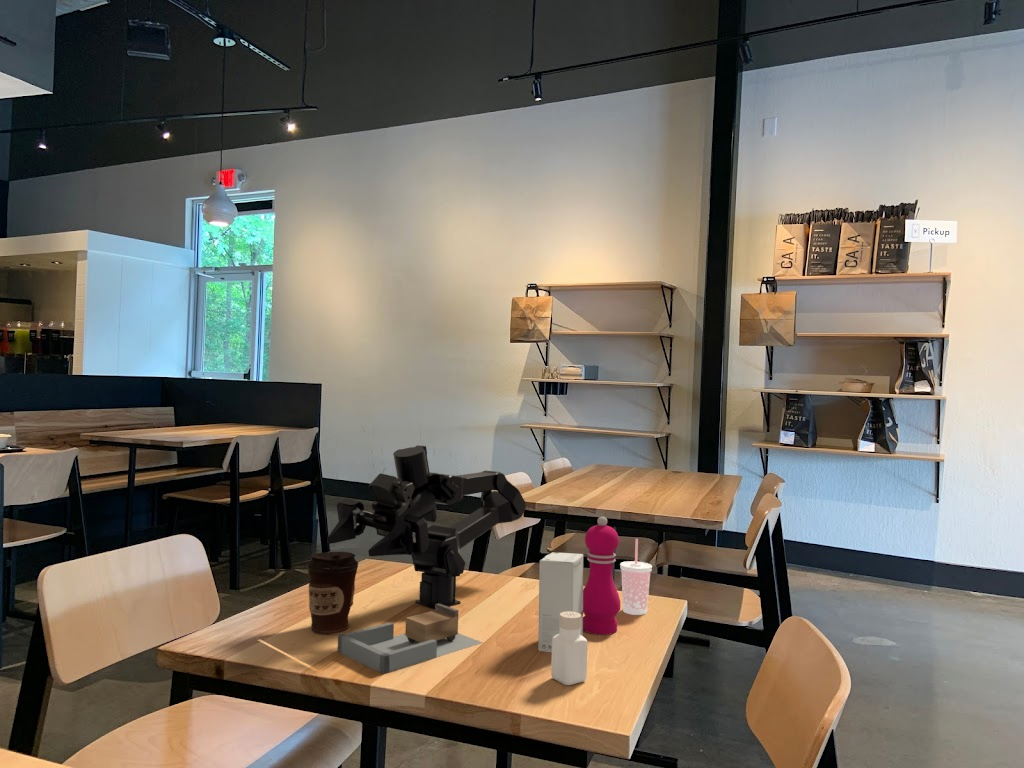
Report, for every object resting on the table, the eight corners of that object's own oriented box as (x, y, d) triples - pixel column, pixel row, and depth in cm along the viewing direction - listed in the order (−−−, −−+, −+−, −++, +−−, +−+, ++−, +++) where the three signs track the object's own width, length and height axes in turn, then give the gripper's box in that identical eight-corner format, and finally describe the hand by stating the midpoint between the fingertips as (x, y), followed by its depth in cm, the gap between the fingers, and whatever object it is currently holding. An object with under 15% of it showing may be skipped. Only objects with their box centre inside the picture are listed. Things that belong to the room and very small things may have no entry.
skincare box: (572, 657, 115) (575, 563, 115) (535, 652, 117) (538, 559, 117) (583, 640, 123) (585, 552, 123) (548, 636, 125) (551, 549, 125)
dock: (435, 626, 128) (436, 610, 128) (483, 644, 120) (483, 627, 120) (337, 653, 113) (338, 635, 113) (383, 675, 105) (384, 656, 105)
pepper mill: (623, 625, 131) (626, 515, 132) (615, 638, 125) (618, 521, 125) (584, 620, 134) (587, 512, 134) (574, 632, 127) (577, 517, 127)
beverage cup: (644, 618, 136) (646, 543, 137) (614, 612, 139) (616, 539, 140) (655, 610, 142) (657, 538, 142) (625, 604, 145) (627, 534, 145)
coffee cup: (342, 641, 119) (344, 562, 119) (295, 636, 120) (298, 558, 121) (363, 625, 127) (365, 551, 128) (319, 621, 129) (321, 547, 129)
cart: (437, 632, 124) (438, 603, 124) (457, 640, 120) (458, 610, 120) (404, 642, 119) (405, 611, 119) (425, 650, 115) (426, 618, 115)
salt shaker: (588, 681, 105) (589, 616, 105) (566, 687, 103) (568, 620, 103) (570, 672, 108) (572, 608, 109) (549, 678, 106) (551, 612, 106)
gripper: (364, 459, 135) (302, 492, 123) (446, 477, 126) (387, 514, 113) (370, 513, 139) (310, 550, 126) (450, 535, 129) (393, 577, 116)
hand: (348, 547), depth 120 cm, fingers open, 9 cm apart
